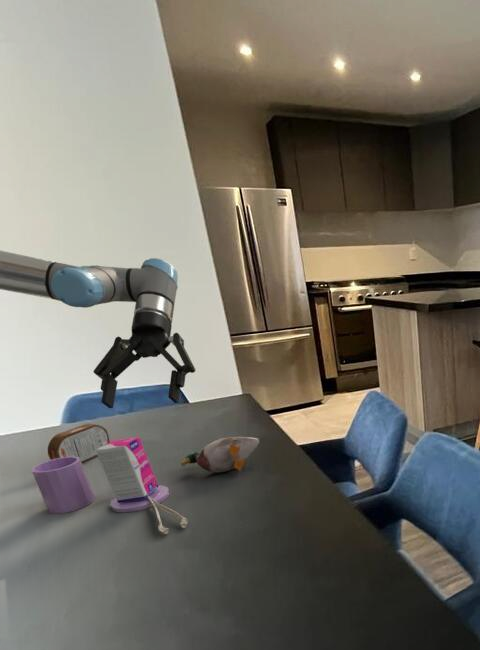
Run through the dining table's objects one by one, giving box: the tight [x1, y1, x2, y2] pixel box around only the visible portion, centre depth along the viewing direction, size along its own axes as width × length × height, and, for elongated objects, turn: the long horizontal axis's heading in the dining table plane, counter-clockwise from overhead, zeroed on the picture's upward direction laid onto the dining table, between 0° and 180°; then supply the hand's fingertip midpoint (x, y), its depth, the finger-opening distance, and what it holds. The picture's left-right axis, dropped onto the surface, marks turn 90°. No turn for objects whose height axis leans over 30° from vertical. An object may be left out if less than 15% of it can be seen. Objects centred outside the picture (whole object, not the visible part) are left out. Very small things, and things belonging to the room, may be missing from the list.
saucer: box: [110, 484, 170, 513], centre depth 100 cm, size 10×10×1 cm
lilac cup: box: [30, 456, 95, 514], centre depth 99 cm, size 8×8×9 cm
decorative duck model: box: [180, 435, 260, 473], centre depth 113 cm, size 15×8×15 cm
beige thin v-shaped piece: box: [147, 496, 188, 535], centre depth 93 cm, size 17×5×2 cm, turn 44°
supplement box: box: [96, 436, 159, 503], centre depth 98 cm, size 6×6×12 cm
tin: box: [47, 423, 110, 464], centre depth 123 cm, size 15×3×8 cm, turn 168°
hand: (140, 402), depth 104 cm, fingers open, 13 cm apart
